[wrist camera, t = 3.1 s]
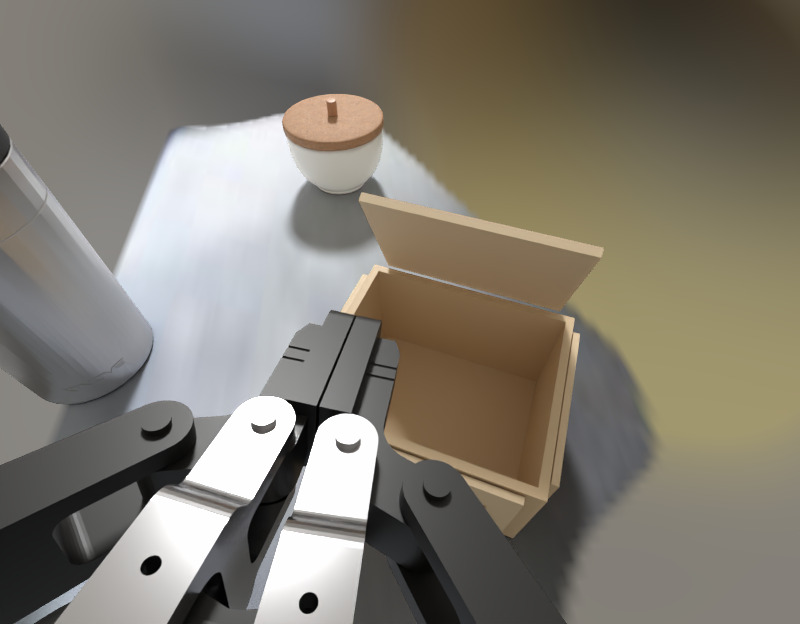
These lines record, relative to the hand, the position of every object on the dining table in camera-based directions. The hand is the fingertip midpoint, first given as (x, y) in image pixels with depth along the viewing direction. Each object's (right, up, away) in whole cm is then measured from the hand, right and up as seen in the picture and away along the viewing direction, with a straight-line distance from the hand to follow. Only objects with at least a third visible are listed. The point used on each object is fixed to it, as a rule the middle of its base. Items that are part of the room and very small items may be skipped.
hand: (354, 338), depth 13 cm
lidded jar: (-6, +17, +39) cm, 43 cm away
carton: (+4, -7, +19) cm, 21 cm away
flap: (+6, +3, +17) cm, 18 cm away
